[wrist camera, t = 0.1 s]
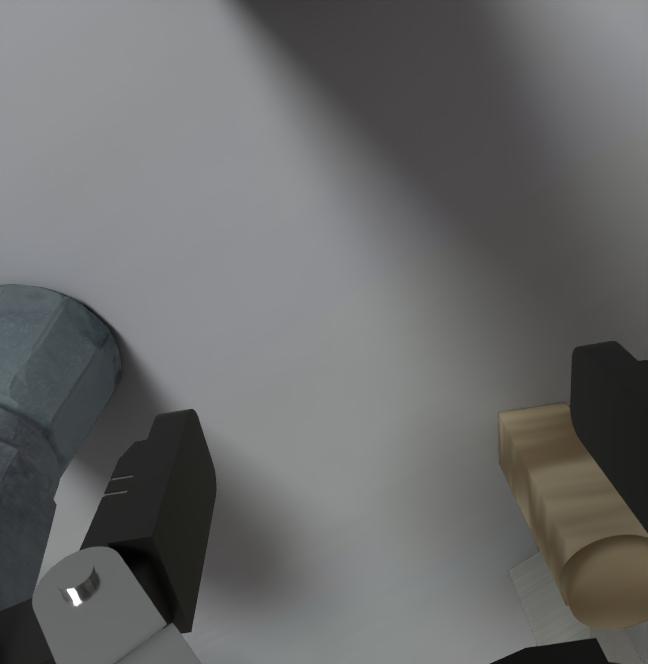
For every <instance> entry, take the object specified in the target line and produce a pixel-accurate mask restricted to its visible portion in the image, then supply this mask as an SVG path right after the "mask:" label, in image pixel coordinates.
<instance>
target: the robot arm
mask: <svg viewBox="0 0 648 664" xmlns="http://www.w3.org/2000/svg"><path fill="white" fill-rule="evenodd" d="M570 414H571V420H572V424H573V427H574V430H575V432H576V435H577V436H578V438H579V440H580V441H581V442H582V444H583V445H584V447H585V448H586V449H587V451H588V452H589V453H590V455H591V456H592V458H593V459H594V460H595V462H596V463H597V464H598V466H599V467H600V469H601V470H602V471H603V473H604V474H605V475H606V477H607V478H608V480H609V481H610V482H611V484H612V485H613V486H614V488H615V489H616V491H617V492H618V493H619V495H620V496H621V497H622V499H623V500H624V501H625V503H626V504H627V506H628V507H629V508H630V510H631V511H632V512H633V514H634V515H635V517H636V518H637V519H638V521H639V522H640V523H641V525H642V526H643V528H644V529H645V530H646V532H647V533H648V361H647V360H643V361H637V360H636V359H635V358H634V357H633V356H632V355H631V354H630V353H629V352H628V351H626V350H625V349H624V348H623V347H622V346H621V345H620V344H619V343H617V342H615V341H609V342H603V343H597V344H591V345H585V346H579V347H576V348H575V349H574V351H573V355H572V372H571V400H570ZM104 494H105V497H102V500H101V502H100V504H99V506H98V509H97V511H96V513H95V516H94V518H93V520H92V523H91V525H90V527H89V530H88V532H87V534H86V536H85V539H84V541H83V543H82V546H81V548H80V550H79V551H77V552H75V553H73V554H71V555H69V556H67V557H65V558H64V559H62V560H61V561H59V562H58V563H57V564H56V565H54V566H53V567H52V568H51V569H50V570H49V571H48V572H47V573H46V574H45V575H44V576H43V578H42V579H41V580H40V582H39V583H38V585H37V587H36V589H35V591H34V594H33V597H32V598H30V599H28V600H26V601H23V602H21V603H18V604H16V605H14V606H11V607H9V608H6V609H4V610H1V611H0V664H202V663H201V662H200V660H199V659H198V658H197V656H196V655H195V653H194V652H193V650H192V649H191V648H190V646H189V645H188V643H187V642H186V640H185V639H184V637H183V636H182V635H181V633H188V632H191V631H192V625H193V619H194V614H195V608H196V603H197V597H198V592H199V586H200V581H201V575H202V570H203V564H204V559H205V553H206V547H207V542H208V536H209V531H210V525H211V520H212V514H213V509H214V503H215V498H216V475H215V469H214V465H213V462H212V459H211V456H210V453H209V449H208V446H207V443H206V440H205V437H204V434H203V431H202V428H201V424H200V421H199V418H198V416H197V413H196V412H195V410H193V409H188V410H182V411H176V412H170V413H164V414H158V415H157V416H156V418H155V420H154V423H153V425H152V428H151V431H150V433H149V436H148V439H147V440H143V441H137V442H135V443H134V444H133V445H132V446H131V447H130V448H129V449H128V450H127V451H126V452H125V453H124V455H123V456H122V457H121V458H120V459H119V460H118V463H117V465H116V467H115V470H114V472H113V474H112V477H111V481H109V483H108V486H107V488H106V490H105V493H104ZM491 664H621V663H615V662H608V660H607V658H606V656H605V654H604V652H603V650H602V648H601V646H600V644H599V642H598V640H597V638H590V639H583V640H577V641H570V642H563V643H556V644H549V645H542V646H536V647H529V648H524V649H522V650H520V651H518V652H515V653H513V654H511V655H509V656H506V657H504V658H502V659H500V660H497V661H495V662H493V663H491Z"/></svg>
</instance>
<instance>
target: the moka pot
mask: <svg viewBox="0 0 648 664" xmlns="http://www.w3.org/2000/svg"><path fill="white" fill-rule="evenodd" d="M121 378H122V364H121V359H120V354H119V350H118V346H117V343H116V342H115V337H114V336H113V335H112V333H111V332H110V330H109V329H108V328H107V326H106V325H105V324H104V323H103V322H102V321H101V320H99V319H98V318H97V317H96V315H94V314H93V313H92V312H90V311H89V310H88V309H87V308H86V307H84V306H83V305H82V304H81V303H80V302H78V301H76V300H74V299H72V298H70V297H68V296H66V295H63V294H61V293H58V292H56V291H53V290H50V289H47V288H42V287H35V286H27V285H17V284H7V285H1V286H0V611H1V610H4V609H6V608H9V607H11V606H14V605H16V604H18V603H21V602H23V601H26V600H28V599H30V598H32V597H33V593H34V590H35V587H36V583H37V580H38V576H39V572H40V568H41V564H42V561H43V557H44V553H45V549H46V546H47V542H48V538H49V534H50V530H51V526H52V522H53V518H54V514H55V509H56V503H55V501H54V500H53V499H54V496H55V494H56V491H57V488H58V485H59V481H60V478H61V476H62V474H63V473H64V471H65V470H66V468H67V467H68V465H69V463H70V461H71V460H72V458H73V456H74V455H75V453H76V452H77V450H78V449H79V447H80V445H81V444H82V442H83V441H84V439H85V438H86V436H87V434H88V433H89V431H90V430H91V428H92V426H93V425H94V423H95V422H96V420H97V418H98V417H99V415H100V414H101V412H102V411H103V409H104V407H105V406H106V404H107V402H108V401H109V399H110V397H111V396H112V394H113V392H114V390H115V389H116V387H117V385H118V383H119V381H120V380H121Z"/></svg>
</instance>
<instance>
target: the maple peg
mask: <svg viewBox="0 0 648 664" xmlns="http://www.w3.org/2000/svg"><path fill="white" fill-rule="evenodd" d="M498 431H499V464H500V466H501V469H502V471H503V473H504V475H505V477H506V479H507V481H508V484H509V486H510V488H511V490H512V492H513V494H514V496H515V498H516V501H517V503H518V505H519V507H520V509H521V511H522V513H523V515H524V518H525V520H526V522H527V524H528V526H529V528H530V530H531V532H532V535H533V537H534V539H535V541H536V543H537V545H538V547H539V549H540V552H541V554H542V556H543V558H544V560H545V562H546V564H547V567H548V569H549V571H550V573H551V575H552V577H553V579H554V581H555V584H556V586H557V588H558V590H559V592H560V594H561V596H562V598H563V601H564V603H565V605H566V606H569V607H570V609H571V611H572V613H573V615H574V617H575V618H576V619H577V620H578V621H579V622H581V623H583V624H584V625H587V626H589V627H593V628H598V629H620V628H626V627H630V626H634V625H637V624H640V623H642V622H644V621H647V620H648V533H647V532H646V530H645V529H644V528H643V526H642V525H641V523H640V522H639V521H638V519H637V518H636V517H635V515H634V514H633V512H632V511H631V510H630V508H629V507H628V506H627V504H626V503H625V501H624V500H623V499H622V497H621V496H620V495H619V493H618V492H617V491H616V489H615V488H614V486H613V485H612V484H611V482H610V481H609V480H608V478H607V477H606V475H605V474H604V473H603V471H602V470H601V469H600V467H599V466H598V464H597V463H596V462H595V460H594V459H593V458H592V456H591V455H590V453H589V452H588V451H587V449H586V448H585V447H584V445H583V444H582V442H581V441H580V440H579V438H578V436H577V435H576V432H575V430H574V427H573V424H572V420H571V414H570V408H569V407H568V405H567V404H566V403H565V402H563V403H557V404H551V405H544V406H538V407H532V408H525V409H519V410H513V411H507V412H500V413H498Z"/></svg>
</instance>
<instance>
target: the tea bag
mask: <svg viewBox="0 0 648 664" xmlns="http://www.w3.org/2000/svg"><path fill="white" fill-rule="evenodd" d="M508 571H509V574H510V576H511V579H512V581H513V584H514V586H515V589H516V591H517V594H518V597H519V599H520V602H521V604H522V607H523V609H524V612H525V614H526V617H527V619H528V622H529V624H530V627H531V630H532V632H533V635H534V637H535V640H536V642H537V645H538V646H542V645H549V644H556V643H563V642H570V641H577V640H583V639H590V638H597V640H598V642H599V644H600V646H601V648H602V650H603V652H604V654H605V656H606V658H607V660H608V662H615V663H621V664H644V663H643V661H642V660H641V658H640V656H639V654H638V652H637V651H636V649H635V647H634V645H633V643H632V641H631V640H630V638H629V636H628V634H627V632H626V630H625V629H624V628H620V629H598V628H593V627H589V626H587V625H584V624H583V623H581V622H579V621H578V620H577V619H576V618H575V617H574V615H573V613H572V611H571V609H570V607H569V606H566V605H565V603H564V601H563V598H562V596H561V594H560V592H559V590H558V588H557V586H556V584H555V581H554V579H553V577H552V575H551V573H550V571H549V569H548V567H547V564H546V562H545V560H544V558H543V556H542V554H541V552H540V551H539V552H537V553H536V554H534V555H532V556H531V557H529V558H528V559H526V560H524V561H523V562H521V563H520V564H518V565H516V566H515V567H513V568H512V569H510V570H508Z"/></svg>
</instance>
